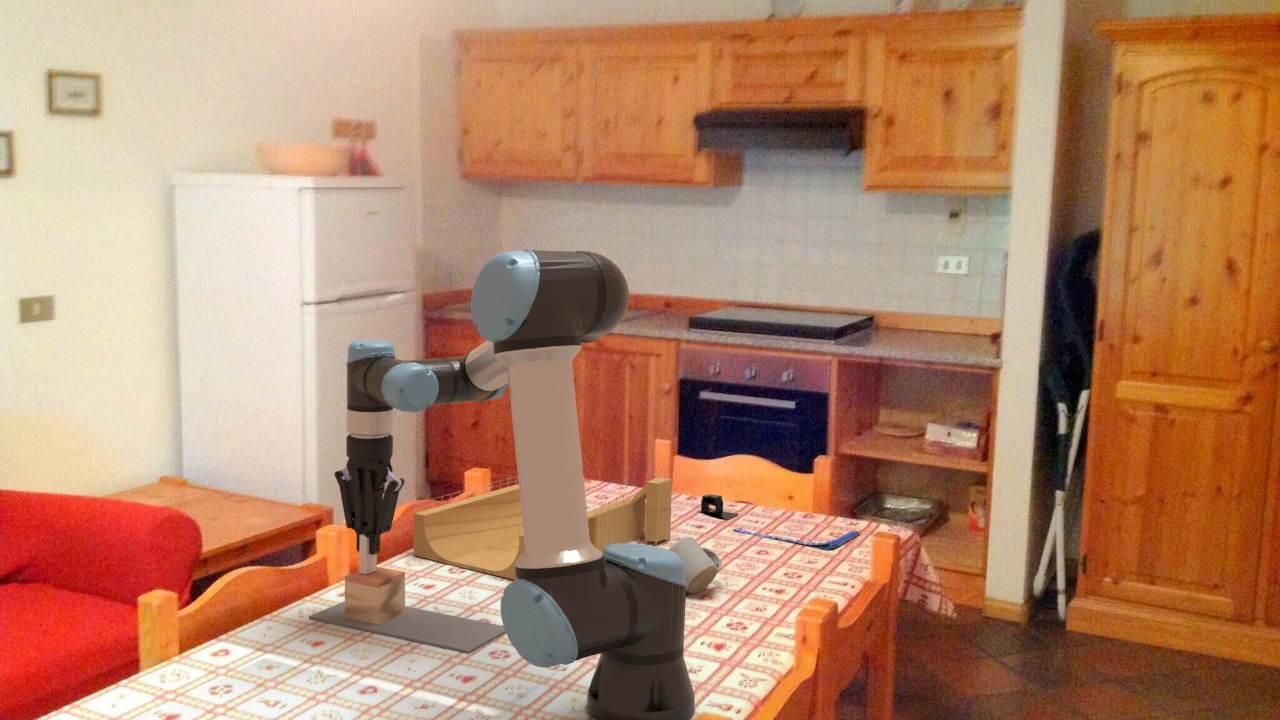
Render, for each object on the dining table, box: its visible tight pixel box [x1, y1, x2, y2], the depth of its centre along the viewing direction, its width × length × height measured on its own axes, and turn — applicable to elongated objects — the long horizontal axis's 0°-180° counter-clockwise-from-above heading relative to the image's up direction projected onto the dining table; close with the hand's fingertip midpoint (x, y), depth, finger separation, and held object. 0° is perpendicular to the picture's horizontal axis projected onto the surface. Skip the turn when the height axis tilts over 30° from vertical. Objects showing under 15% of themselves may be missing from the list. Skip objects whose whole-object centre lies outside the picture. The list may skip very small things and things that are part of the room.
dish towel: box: [732, 527, 860, 551], centre depth 249 cm, size 17×24×3 cm
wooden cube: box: [344, 566, 406, 625], centre depth 191 cm, size 7×7×7 cm
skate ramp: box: [412, 469, 673, 581], centre depth 233 cm, size 40×35×16 cm
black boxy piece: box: [697, 493, 740, 521], centre depth 263 cm, size 12×7×5 cm, turn 54°
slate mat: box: [308, 600, 506, 654], centre depth 189 cm, size 12×32×1 cm, turn 64°
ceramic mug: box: [668, 536, 723, 595], centre depth 210 cm, size 11×8×8 cm
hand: (367, 571), depth 192 cm, fingers closed
